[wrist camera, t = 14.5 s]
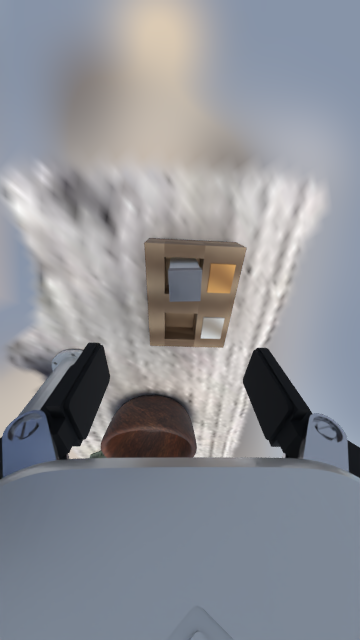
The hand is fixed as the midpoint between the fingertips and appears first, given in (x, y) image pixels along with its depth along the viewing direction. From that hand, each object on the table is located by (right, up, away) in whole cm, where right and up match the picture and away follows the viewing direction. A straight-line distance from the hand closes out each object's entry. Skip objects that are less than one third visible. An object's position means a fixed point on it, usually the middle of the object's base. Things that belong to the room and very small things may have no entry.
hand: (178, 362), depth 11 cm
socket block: (+2, +8, +22) cm, 23 cm away
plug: (+1, +11, +18) cm, 21 cm away
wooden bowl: (-8, -26, +43) cm, 51 cm away
